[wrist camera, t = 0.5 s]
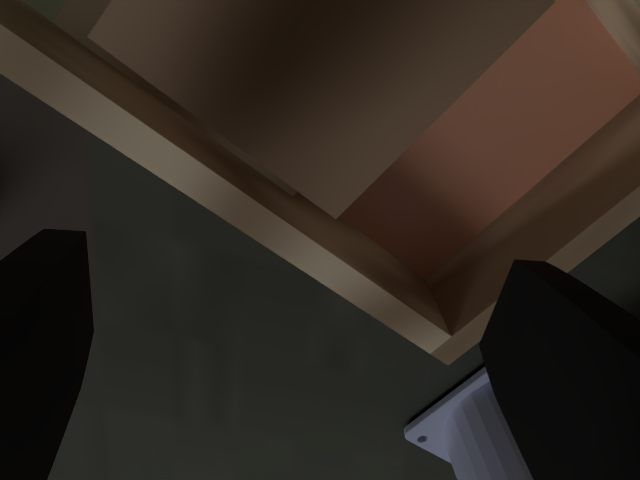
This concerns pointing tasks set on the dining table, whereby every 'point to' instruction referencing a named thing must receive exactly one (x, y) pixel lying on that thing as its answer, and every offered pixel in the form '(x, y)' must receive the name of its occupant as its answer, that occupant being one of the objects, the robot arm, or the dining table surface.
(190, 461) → the dining table surface
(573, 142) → the frame
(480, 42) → the walnut block
